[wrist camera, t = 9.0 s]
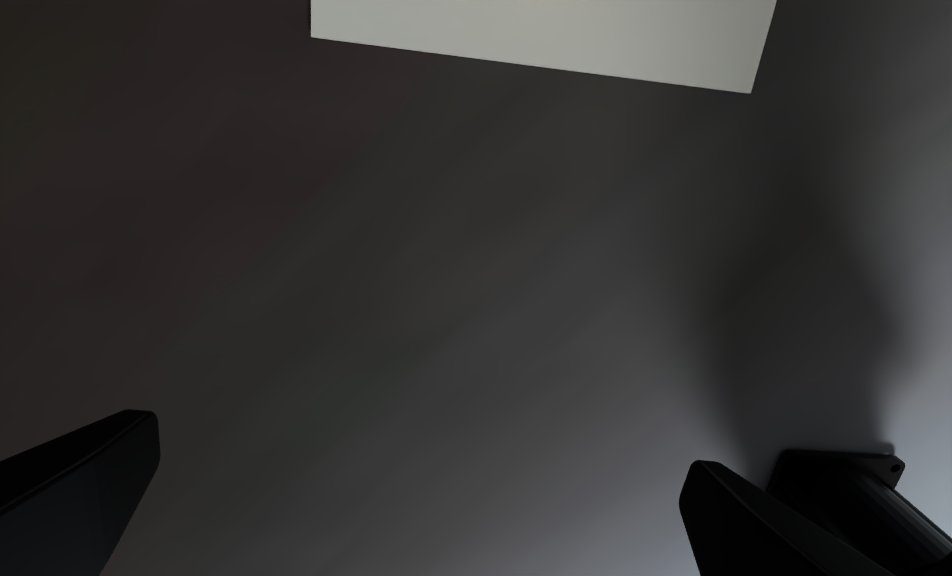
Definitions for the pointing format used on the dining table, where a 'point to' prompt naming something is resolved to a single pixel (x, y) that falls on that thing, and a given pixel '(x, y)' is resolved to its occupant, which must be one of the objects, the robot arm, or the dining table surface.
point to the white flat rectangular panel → (570, 34)
